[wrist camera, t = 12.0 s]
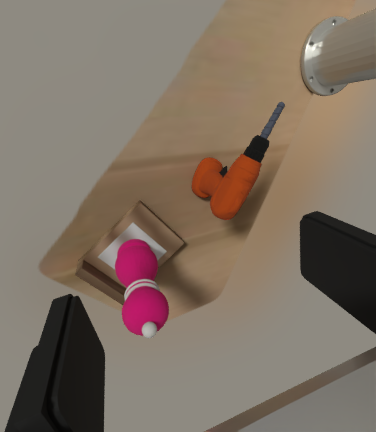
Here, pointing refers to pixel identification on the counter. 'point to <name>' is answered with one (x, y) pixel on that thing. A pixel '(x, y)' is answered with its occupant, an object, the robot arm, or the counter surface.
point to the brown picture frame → (110, 243)
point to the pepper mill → (140, 289)
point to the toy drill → (233, 174)
